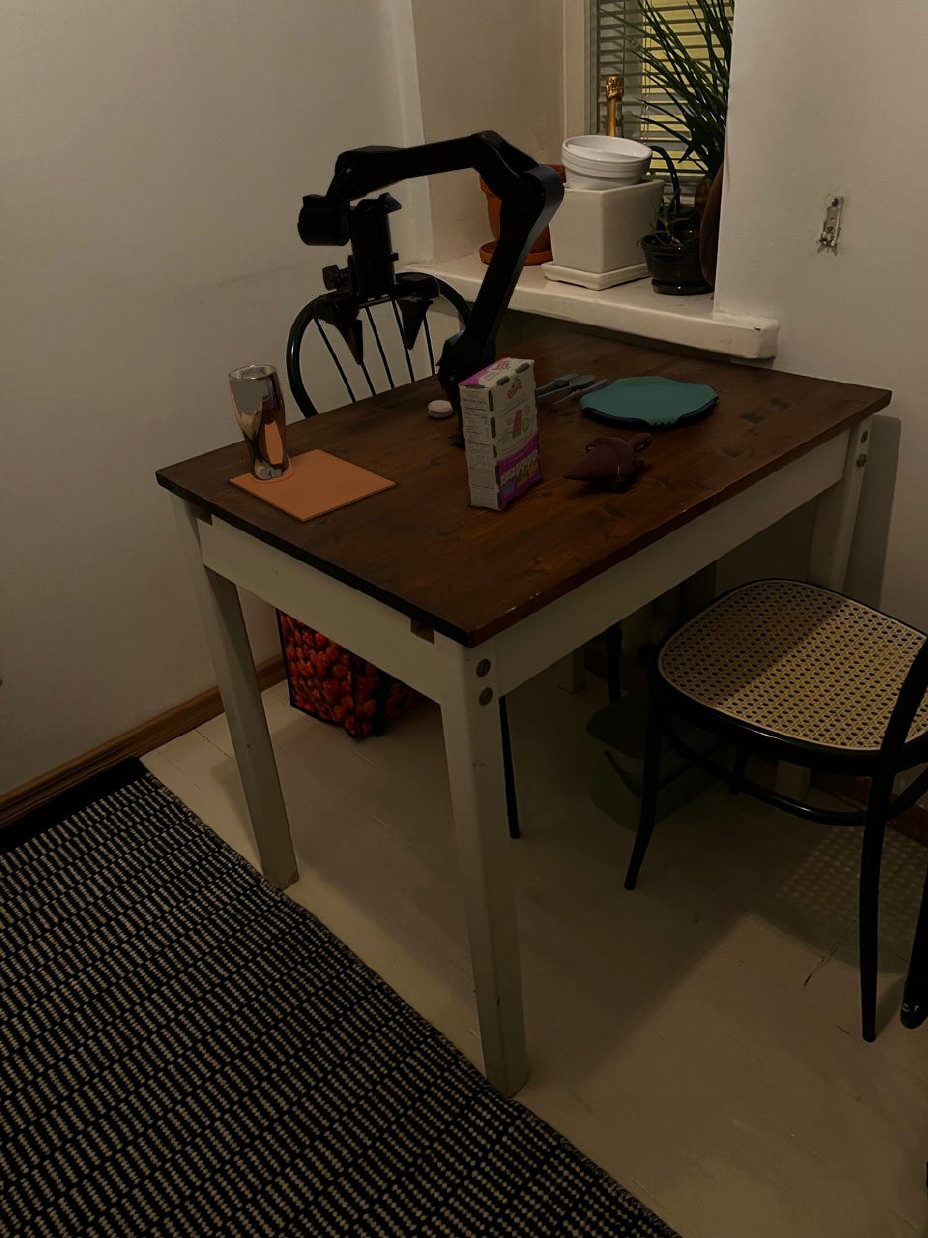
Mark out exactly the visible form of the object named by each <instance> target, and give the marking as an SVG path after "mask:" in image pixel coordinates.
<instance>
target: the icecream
mask: <svg viewBox="0 0 928 1238" xmlns="http://www.w3.org/2000/svg"><path fill="white" fill-rule="evenodd" d="M653 441H654V438H653V436H652V435H651V434H650V433H649V432H641V433H638V434H636V435H634V436H633V437H632V439H630V441H628V442H627V441H625V440H624V439H623V438H620V437H618V436H616V437H602V436H599V437H596V438H595V439H593V440H592V441H590V442H588V443H587V444H585V454H584V456H582V457H581V458H580V459H579V460H578V461H577V462H576V463H574V464H573V465H572V466H571V467H570V468H569V469H568V470H566V471H565V472H564V473H563V475H562V476H563V478H564V479H566V480H572V481H573V480H574V481H581V482H587V483H593V484H594V485H596V487H597V488H600V489H603V490H606V491H609V492H614V491H615V490H617V488H618V487H620V486H621V485H624V484H626V483H628V482H629V481H630V479H631V477H632V476H633V475H634V474H637V473H639V472H641V471H642V470H643V469H644V467H645V461H644V460H643V459H642V458H640V457H637V454H639V453H641V452H643V451H644V450H646V449H647V448H649V447H650V446H651V445H652V443H653Z"/></svg>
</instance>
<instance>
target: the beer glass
mask: <svg viewBox="0 0 928 1238" xmlns="http://www.w3.org/2000/svg"><path fill="white" fill-rule="evenodd" d="M228 381H229V390H230V397H231V403H232V408H233V413H234V415H235V419H236V422H237V425H238V428H239V430H240V432H241V435H242V437H243V439H244V441H245V444H246V447H247V451H248V454H249V460H250V462H249V463H250V472H251V478H252V480H254V481H256V482H259V483H273V482H278V481H282V480H284V479H287V478H289V477H290V476H291V475H292V474H293V472H294V470H293V466H292V464H291V461H290V458H291V457H290V455H289V453H288V448H287V425H286V424H287V419H286V418H287V416H286V414H287V413H286V404H285V397H284V392H283V388H282V385H281V384H282V383H281V380H280V376H279V373H278V368H277V367H276V366H274V365H272V364H253V365H252V364H251V365H246V366H245V365H244V366H241V367H238V368H236V369H235V368H234V369H233V370H231V371H230V372H229V373H228Z"/></svg>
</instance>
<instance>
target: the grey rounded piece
mask: <svg viewBox="0 0 928 1238" xmlns="http://www.w3.org/2000/svg"><path fill="white" fill-rule="evenodd" d="M427 408H428V415H429V416H430V417H432V418H435V419H443V418H446V417H448V416H449V415H451V414H452V413H453V412H454V411H453V409H452V407H451V404H450V402H449V401H447V400H442V399H440V400H439V399H437V400H433V401H432V402H430V403H429V404H428V405H427Z"/></svg>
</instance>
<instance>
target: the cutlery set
mask: <svg viewBox="0 0 928 1238" xmlns="http://www.w3.org/2000/svg"><path fill="white" fill-rule="evenodd" d="M595 378H596V376H595V375H591V374H589V375H587V374H586V375H582V376H580V374H579V373H578V374H577V373H574V372H572V373H571V374H568V375H565V376H561V377H558V378H556V377H554V378H552V381H550V382H548V383H546V384H545V385H543V386H539V387H536V400H537V403H538V402H539V403H541V402H543V401H545V400H547V399H548V398H550V397H553V396H554V395H556V394H559V393H562V392H564V391H567V390H570V389H573V388H576V391H572V392H571V393H570V394H568V395H567V396H565V397H563V398H562V399H560V400H557V401H555V402H551V403H550V404H551V405H550V406H551V408H554V409H555V407H556V406H557V405H559V404H560V403H562V402H565V401H567V400H569V399H571V398H578V397H581V398H580V400H579V407H580V409H581V412H582V413H583V415H586V413H585V411H584V409H585V408H586V409H587V410H588V411H589V412H591V413H593V414H594V415H596V416H599V417H602V418H605V419H608V420H611V421H617V422H623V423H631V424H632V423H633V424H634V423H635V424H649V425H650V426H652V427H653V428H655V427H658V426H659V427H663V426H671V425H673V424H674V423H675V422H676V421H681V420H684V419H685V420H687V419H690V418H692V417H695V416H697V415H700V414H702V413H705V412H706V411H707V410H709V409H710V408H711V407H712V406H713V405H714V403H716V402H718V401H719V400H720V396H719V395H718V393H716V390H714V388H712V387H711V386H710V385H707V384H702V383H695V382H691V381H687V380H683V379H677V378H676V379H675V378H667V377H662V376H658V375H655V376H652V375H649V376H637V377H629V378H628V377H625V378H619V379H616V380H615V381H613V382H610V383H608V378H605V379H601V380H600V381H598V382H596V383H593V384H592V385H590V384H591V383H592V382H594V380H595ZM566 383H569V385H568V386H564V387H561V388H557V389H554V390H551V391H549V392H546V393H543V392H545V391H546V390H548V389H550V388H551V387H553V386H556V387H560V386H562V385H564V384H565V385H566ZM588 385H590V386H588ZM583 387H585V388H583ZM579 388H583V389H579ZM540 393H543V394H541V395H538V394H540ZM585 393H586V394H585ZM537 395H538V396H537Z"/></svg>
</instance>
